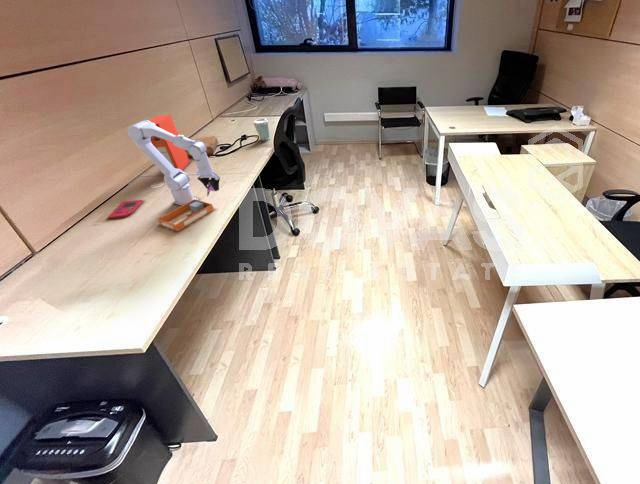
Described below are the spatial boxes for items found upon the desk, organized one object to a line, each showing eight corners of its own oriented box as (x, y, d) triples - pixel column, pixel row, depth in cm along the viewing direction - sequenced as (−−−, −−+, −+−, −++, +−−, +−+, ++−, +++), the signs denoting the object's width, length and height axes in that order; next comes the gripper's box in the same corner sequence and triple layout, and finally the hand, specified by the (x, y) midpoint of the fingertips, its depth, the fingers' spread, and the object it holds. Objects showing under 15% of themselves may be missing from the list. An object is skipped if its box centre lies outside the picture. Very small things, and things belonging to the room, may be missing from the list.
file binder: (166, 174, 198) (143, 124, 180) (176, 163, 212) (156, 115, 195) (180, 173, 199) (159, 123, 182) (189, 162, 213) (170, 114, 196)
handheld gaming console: (106, 216, 156) (122, 201, 169) (108, 219, 157) (123, 203, 169) (128, 214, 158) (142, 199, 170) (129, 216, 159) (143, 201, 171)
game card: (210, 176, 166) (206, 184, 159) (221, 178, 168) (218, 186, 161) (208, 187, 169) (205, 196, 162) (219, 189, 171) (217, 197, 164)
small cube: (191, 211, 161) (188, 205, 159) (198, 207, 165) (196, 201, 162) (198, 213, 160) (195, 207, 158) (205, 209, 163) (202, 203, 161)
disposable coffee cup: (269, 141, 244) (264, 122, 236) (255, 141, 244) (250, 122, 236) (274, 136, 253) (269, 118, 245) (260, 136, 253) (255, 118, 245)
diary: (214, 154, 224) (211, 146, 221) (184, 158, 219) (181, 150, 215) (218, 143, 242) (216, 135, 239) (190, 146, 237) (188, 139, 234)
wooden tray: (159, 225, 152) (156, 219, 150) (197, 204, 167) (194, 199, 166) (177, 231, 148) (174, 225, 146) (214, 210, 163) (212, 204, 161)
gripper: (186, 166, 158) (196, 190, 165) (207, 171, 153) (216, 195, 160) (199, 161, 163) (208, 184, 171) (219, 165, 158) (227, 189, 166)
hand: (212, 189), depth 166 cm, fingers closed on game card, 5 cm apart
